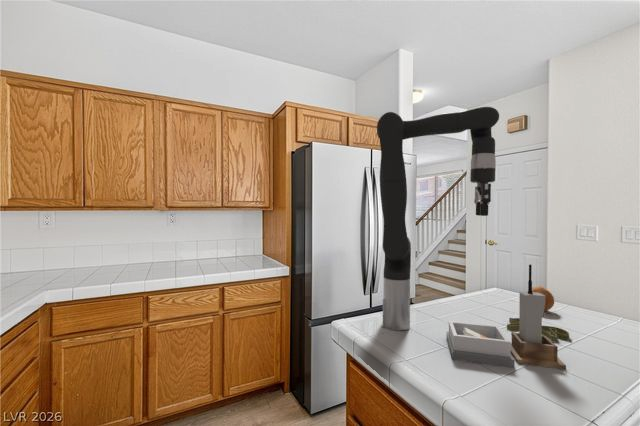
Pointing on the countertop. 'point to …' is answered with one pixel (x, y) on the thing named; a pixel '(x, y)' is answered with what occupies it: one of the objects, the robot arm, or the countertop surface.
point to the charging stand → (536, 352)
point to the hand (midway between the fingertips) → (481, 215)
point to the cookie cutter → (552, 334)
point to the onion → (549, 297)
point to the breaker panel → (480, 344)
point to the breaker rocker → (472, 333)
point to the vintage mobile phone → (531, 314)
